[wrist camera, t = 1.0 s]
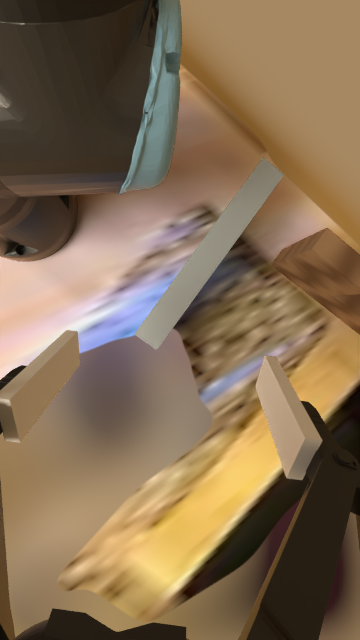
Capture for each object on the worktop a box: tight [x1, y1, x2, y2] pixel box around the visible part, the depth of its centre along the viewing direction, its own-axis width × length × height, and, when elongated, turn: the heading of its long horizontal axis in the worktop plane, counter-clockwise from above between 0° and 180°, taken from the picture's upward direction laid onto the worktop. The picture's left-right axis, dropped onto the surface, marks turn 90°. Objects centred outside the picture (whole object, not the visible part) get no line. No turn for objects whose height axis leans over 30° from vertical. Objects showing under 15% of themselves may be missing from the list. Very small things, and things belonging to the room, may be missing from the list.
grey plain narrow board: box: [135, 157, 284, 350], centre depth 31 cm, size 24×3×10 cm, turn 144°
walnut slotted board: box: [272, 228, 360, 334], centre depth 33 cm, size 22×3×10 cm, turn 54°
